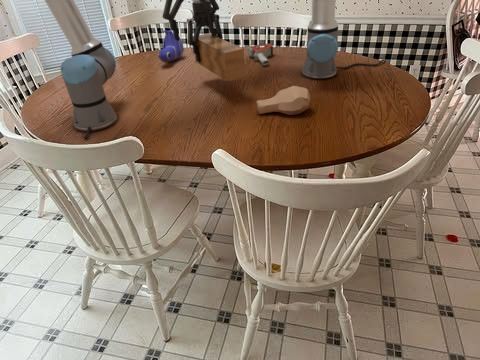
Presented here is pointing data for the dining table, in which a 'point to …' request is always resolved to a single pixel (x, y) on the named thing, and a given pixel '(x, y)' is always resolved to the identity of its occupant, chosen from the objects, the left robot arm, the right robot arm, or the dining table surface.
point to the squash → (286, 101)
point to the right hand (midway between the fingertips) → (207, 59)
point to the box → (221, 57)
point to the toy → (170, 48)
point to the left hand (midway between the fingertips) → (194, 36)
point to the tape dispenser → (261, 53)
